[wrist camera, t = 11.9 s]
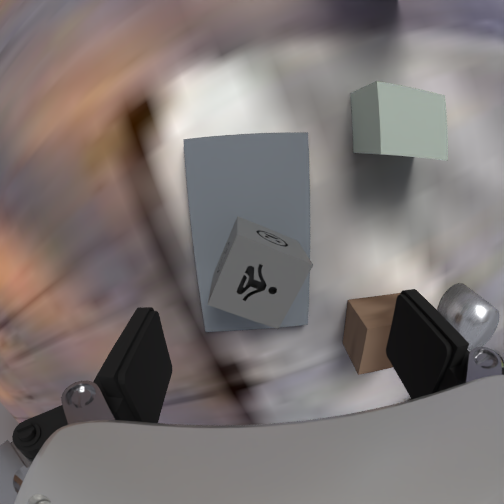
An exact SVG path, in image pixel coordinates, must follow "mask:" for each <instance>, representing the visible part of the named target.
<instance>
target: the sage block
mask: <svg viewBox="0 0 504 504" xmlns="http://www.w3.org/2000/svg"><path fill="white" fill-rule="evenodd" d="M350 94H351V108H352V126H353V153H366V154H383V155H397V156H409V157H419V158H429V159H438V160H446V161H448V137H447V116H446V103H445V96H444V95H440V94H437V93H433V92H429V91H425V90H420V89H416V88H411V87H406V86H402V85H396V84H391V83H385V82H379V81H376V82H374V83H372V84H369V85H367V86H365V87H363V88H361V89H359V90H356V91H354V92H352V93H350Z"/></svg>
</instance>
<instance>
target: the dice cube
mask: <svg viewBox="0 0 504 504" xmlns="http://www.w3.org/2000/svg"><path fill="white" fill-rule="evenodd" d="M312 266H313V264H312V262H311V261H310V259H309V258H308V256H307V255H306V253H305V251H304V250H303V248H302V247H301V245H300V244H299V242H298V241H297V240H294V239H292V238H289V237H287V236H285V235H282V234H280V233H278V232H275V231H273V230H270V229H268V228H265V227H263V226H261V225H258V224H256V223H253V222H251V221H248V220H246V219H244V218H241V217H239V216H237V219H236V221H235V223H234V226H233V228H232V230H231V233H230V235H229V237H228V240H227V242H226V245H225V247H224V249H223V252H222V254H221V257H220V259H219V261H218V264H217V266H216V269H215V271H214V274H213V278H212V284H211V289H210V294H209V299H208V305H210V306H212V307H215V308H218V309H221V310H224V311H226V312H229V313H232V314H235V315H238V316H241V317H244V318H247V319H249V320H252V321H255V322H258V323H261V324H264V325H268V326H271V327H274V328H277V329H279V327H280V325H281V323H282V322H283V320H284V318H285V316H286V314H287V313H288V311H289V309H290V307H291V305H292V304H293V302H294V300H295V298H296V296H297V294H298V292H299V291H300V289H301V287H302V285H303V283H304V281H305V279H306V277H307V276H308V274H309V272H310V270H311V268H312Z"/></svg>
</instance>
